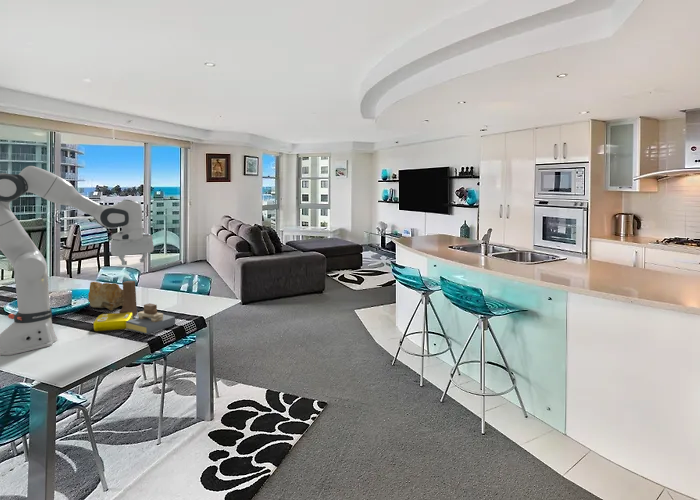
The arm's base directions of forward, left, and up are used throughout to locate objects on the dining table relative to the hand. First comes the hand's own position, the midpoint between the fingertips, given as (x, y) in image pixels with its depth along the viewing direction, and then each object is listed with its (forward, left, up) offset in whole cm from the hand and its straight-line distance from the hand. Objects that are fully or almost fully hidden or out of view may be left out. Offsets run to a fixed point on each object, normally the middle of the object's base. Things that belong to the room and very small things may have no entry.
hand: (133, 263), depth 210 cm
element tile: (-5, +10, -31) cm, 33 cm away
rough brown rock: (+14, +40, -31) cm, 52 cm away
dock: (+2, -8, -30) cm, 31 cm away
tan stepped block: (+2, -8, -26) cm, 28 cm away
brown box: (+2, -8, -23) cm, 25 cm away
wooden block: (+7, +16, -31) cm, 35 cm away
